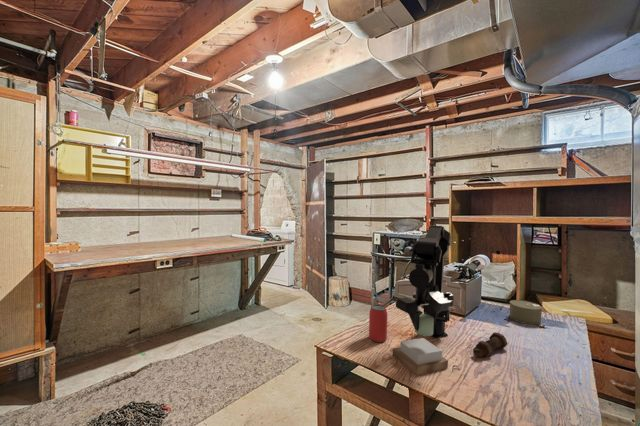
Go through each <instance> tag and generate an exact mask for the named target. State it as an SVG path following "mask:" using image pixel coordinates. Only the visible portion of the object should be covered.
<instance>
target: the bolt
mask: <svg viewBox="0 0 640 426" xmlns="http://www.w3.org/2000/svg"><path fill="white" fill-rule="evenodd" d="M488 337H489V339H488V340H486V341H484V340H480V341H479V342H477V344H475V347H473V348H472V353H473V355H474V356H475V357H477V358H482V357H489V356H490V355H492V353H493V351H494V350H496V349H499V350H503V349H504V348H505V347H507V346H508V341H507V338H506V337H505V336H504V335H503V334H501V333H500V332H494V331H493V332H492V334H491V335H490V336H488Z"/></svg>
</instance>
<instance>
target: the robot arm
mask: <svg viewBox="0 0 640 426" xmlns="http://www.w3.org/2000/svg"><path fill="white" fill-rule="evenodd" d="M451 244H452V234H451V232H450V231H449V230H446V229H445V227H444V226H443V225H434V224H433V225H429V226H428V230H427V231H426V235H425V236H424V237H423V238H419V239H418V240H417V241H416V242H415V243H414V244H413V246H412V253H411V258H410V264H415V266H414V268H413V269H412V270H411V271H410V272H409V274H408V280H409V283H410V284H411V285H412V286H413V287H414V288H415V294H412V298H413V299H414V300H413V299H411V298H409V297H401V298H397V299H396V300H395V308H397V309H399V310H400V311H402V312H404V313H406V314H408V316H409V319H410V321H411V324H412V325H413V328H414V331H415V330H417V331H418V329H419V318H420V315H421V314H428V315H431V316H433V318H434V325H433V335H432V336H431V337H432V338H434V339H438V338H443V337H447V336H448V335H449V334H448V333H446V330H445V329H446V323H447V322H450V318H451V316H450V310H449V307H450V308H451V307H453V306H454V299H455V298H454V294H452V292H445V293H444V292H443V287H444V268H445V267H444V266H445V256H446V254H447V253H448V252H449V250H450V247H451ZM421 307H423V311H421V310H420V308H421Z"/></svg>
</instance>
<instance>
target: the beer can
mask: <svg viewBox="0 0 640 426" xmlns="http://www.w3.org/2000/svg"><path fill="white" fill-rule="evenodd" d="M368 321H369V324H368V338H369V339H370V340H371V341H372V342H376V343H384V342H386V340H387V339H388V311H387V307H386V306H384V305H382V304H372V305H371V306H370V310H369V319H368Z"/></svg>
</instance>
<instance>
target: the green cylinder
mask: <svg viewBox="0 0 640 426" xmlns="http://www.w3.org/2000/svg"><path fill="white" fill-rule="evenodd" d="M433 325H434V318H433V316H431V315H428V314H424V313H422V314H421V315H420V318H419V329H418V331H417V330H415V329H414V333H416V334H417V335H419V336H424V337H432V335H433Z"/></svg>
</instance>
